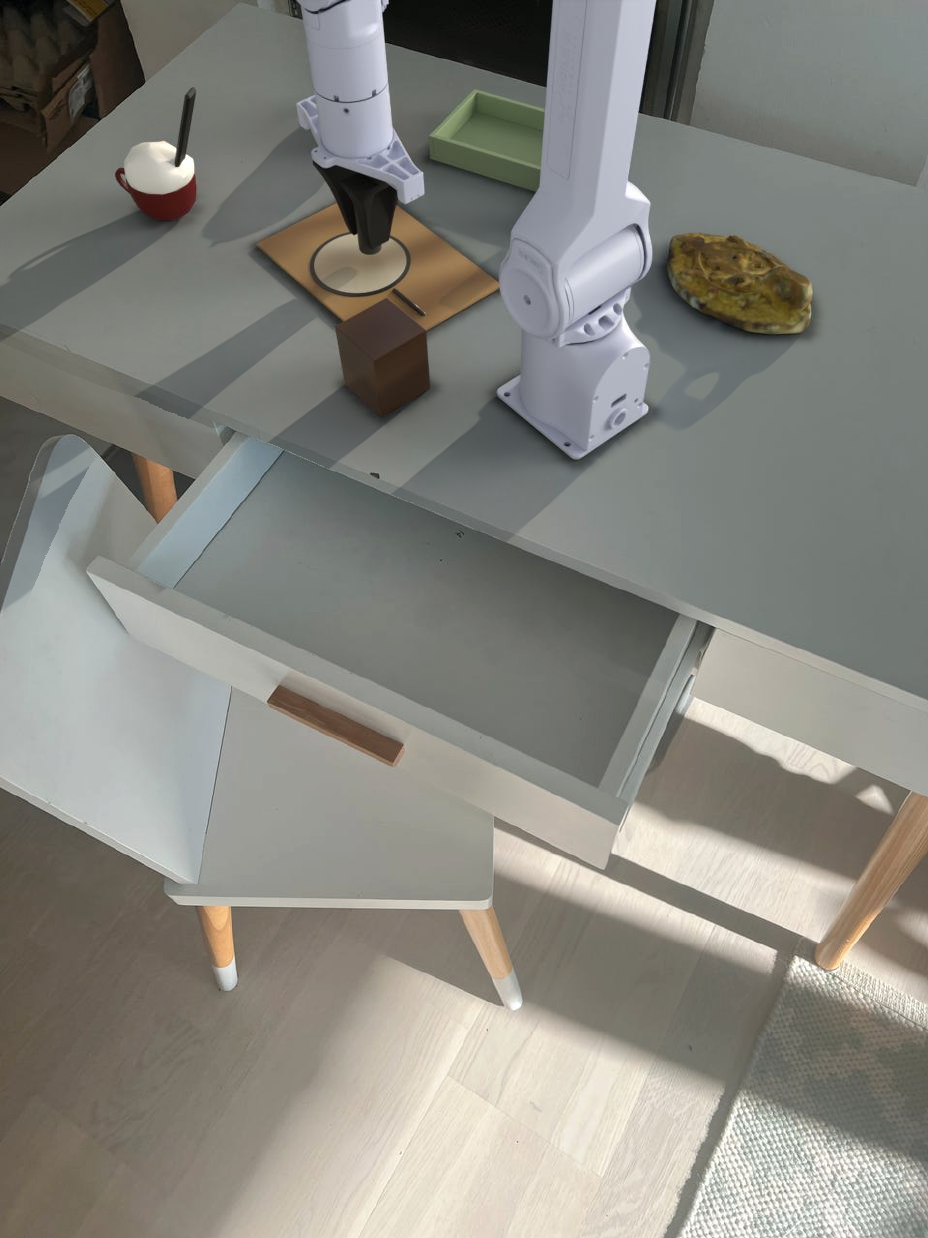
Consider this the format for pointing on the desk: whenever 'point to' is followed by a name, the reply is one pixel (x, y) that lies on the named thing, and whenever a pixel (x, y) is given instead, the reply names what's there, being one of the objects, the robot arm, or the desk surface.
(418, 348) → the tall brown wooden block
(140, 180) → the cocoa
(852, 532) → the desk surface
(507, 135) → the tray
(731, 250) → the stuffed pastry
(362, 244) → the marker
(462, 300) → the drawing pad
